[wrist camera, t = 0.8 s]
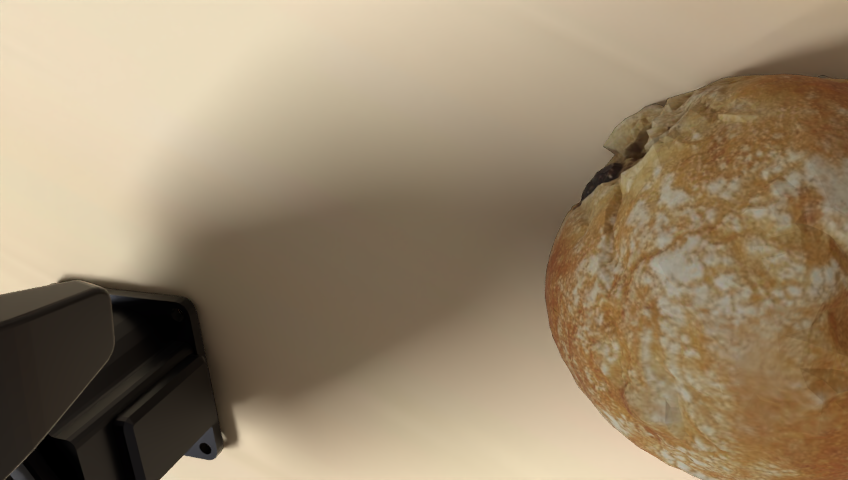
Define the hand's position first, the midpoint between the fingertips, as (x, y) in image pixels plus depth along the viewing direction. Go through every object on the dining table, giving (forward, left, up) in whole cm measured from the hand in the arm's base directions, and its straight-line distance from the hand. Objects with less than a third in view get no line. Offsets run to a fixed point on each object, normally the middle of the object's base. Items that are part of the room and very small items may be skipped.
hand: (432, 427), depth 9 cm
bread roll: (+4, -3, -13) cm, 14 cm away
